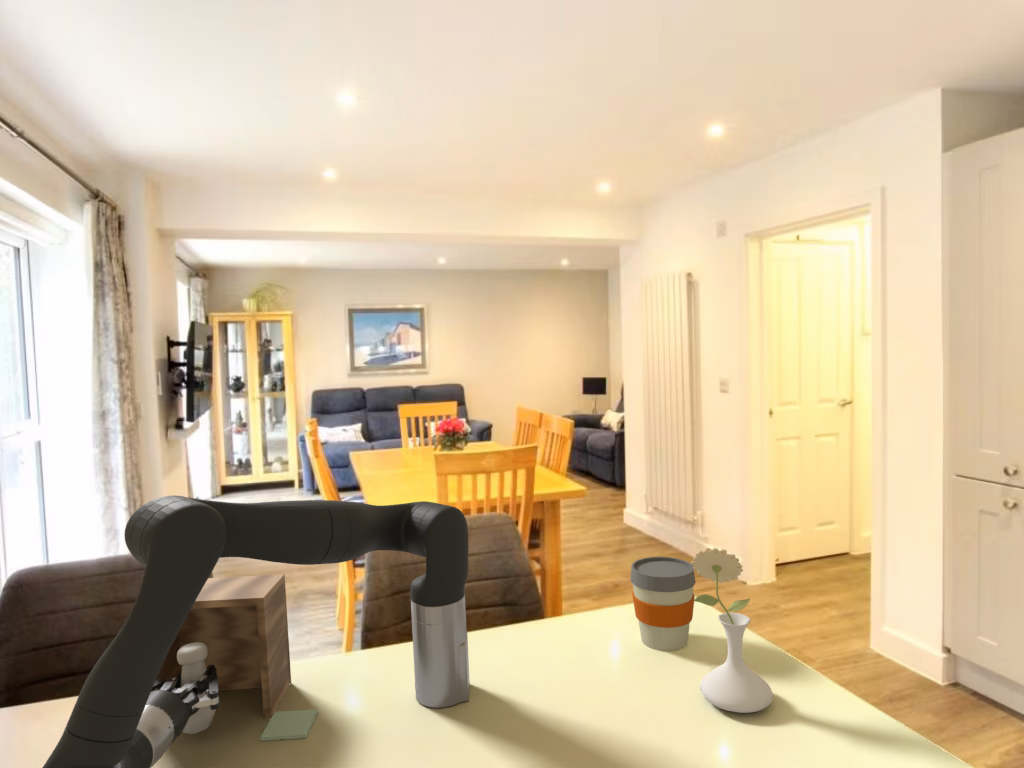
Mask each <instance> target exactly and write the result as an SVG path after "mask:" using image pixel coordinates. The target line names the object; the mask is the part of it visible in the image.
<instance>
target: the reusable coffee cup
mask: <svg viewBox="0 0 1024 768" xmlns="http://www.w3.org/2000/svg"><path fill="white" fill-rule="evenodd" d="M630 568H631V569H630V582H631V583H632V587H633V590H632V593H631V596H632V601H633V607H634V614H635V617H636V619H637V620H638V626H639V632H640V638H641V642H642V644H643V645H645V646H646V647H647V648H650V649H652V650H655V651H661V652H672V651H673V652H676V651H678V650H682V649H684V648H685V647H687V646H688V643H689V642H688V641H689V632H690V623H691V622H692V621H693V617H694V615H693V614H694V606H695V601H694V600H695V599H696V597H695V594H694V586H695V585H696V577H695V574H696V573H695V570H694V566H693V565H692V564H691V563H690V562H689V561H687V560H684V559H680V558H677V557H671V556H670V557H669V556H650V557H649V556H648V557H644V558H643V557H642V558H640V559H637V560H635V561H633V562H632V564H631V567H630Z"/></svg>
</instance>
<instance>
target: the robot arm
mask: <svg viewBox="0 0 1024 768" xmlns="http://www.w3.org/2000/svg"><path fill="white" fill-rule="evenodd" d="M124 542H125V545H126V547H127V549H128V551H129V553H130V554H131V555H132V557H133V558H134V560H136V561H137V562H138V563H140V565H142V566H144V567H145V569H144V573H143V578H142V581H141V585H140V587H139V592H138V594H137V597H136V600H135V602H134V604H133V607H132V609H131V611H130V613H129V615H128V616H127V618H126V620H125V622H124V623H123V624H122V627H121V628H120V629H119V630H118V633H117V634H116V635H115V637H114V638H113V640H112V641H111V643H109V645H108V646H107V648H106V649H105V650H104V652H103V653H102V655H100V657H99V659H97V661H96V662H95V664H94V666H93V668H92V669H91V671H90V672H89V674H88V675H87V677H86V679H85V682H84V683H83V686H82V688H81V690H80V692H79V694H78V697H77V698H76V702H75V704H74V706H73V709H72V711H71V714H70V715H69V718H68V721H67V723H66V725H65V728H64V731H63V732H62V735H61V737H60V739H59V741H58V742H57V744H56V746H55V748H54V749H53V751H52V752H51V754H50V756H49V757H48V759H47V760H46V761H45V763H44V765H43V766H42V768H152V767H154V765H156V764H157V763H158V761H159V760H160V759H161V758H162V757H163V756H164V754H166V752H167V751H168V749H170V747H171V746H172V744H173V743H174V742H175V741H176V740H177V738H178V737H179V736H180V735H181V733H183V730H184V728H185V726H186V724H187V721H188V719H189V717H190V716H192V715H193V714H195V713H196V712H198V710H199V708H201V707H205V706H207V707H209V706H210V709H211V710H215V709H216V710H217V709H219V708H220V697H219V695H220V694H219V690H218V679H217V669H216V668H215V665H209V666H208V667H207V668H206V669H207V670H206V671H205V673H204V674H203V675H201V676H199V677H198V678H197V679H196V680H190V681H189V682H188V683H187V684H185V685H184V686H183V687H182V688H180V682H181V674H182V671H180V672H179V673H178V674H177V675H176V676H174V677H171V678H170V679H169V680H168V681H165V679H159V680H157V681H155V680H156V678H157V676H158V673H159V671H160V669H161V667H162V664H163V662H164V660H165V658H166V656H167V654H168V652H169V650H170V648H171V646H172V644H173V642H174V640H175V638H176V636H177V634H178V632H179V630H180V628H181V627H182V625H183V623H184V621H185V619H186V617H187V615H188V614H189V612H190V610H191V608H192V606H193V604H194V602H195V601H196V599H197V597H198V595H199V593H200V592H201V590H202V588H203V586H204V585H205V583H206V581H207V580H208V578H210V577H211V575H212V572H213V571H214V569H215V567H216V565H217V563H218V562H219V559H220V558H221V559H222V558H245V559H252V560H258V561H265V562H271V563H278V564H279V563H281V564H287V565H299V566H302V565H303V566H311V565H313V566H314V565H327V564H328V565H331V564H332V565H333V564H341V563H345V562H349V561H352V560H355V559H358V558H360V557H361V556H364V555H366V554H369V553H372V552H376V551H377V552H378V551H394V552H403V553H404V552H405V553H408V554H412V555H415V556H420V557H423V558H425V573H423V574H422V575H419V576H417V577H416V578H414V579H413V580H412V582H411V583H410V586H409V587H410V591H409V592H410V607H411V609H410V611H411V627H412V628H411V631H412V649H413V650H412V651H413V652H412V653H413V671H414V689H415V698H416V701H417V703H419V704H420V705H422V706H426V707H429V708H435V709H436V708H438V709H440V708H449V707H451V706H455V705H457V704H460V703H462V702H468V701H469V699H470V665H469V664H470V663H469V641H468V638H469V637H468V631H467V617H466V595H465V594H466V593H465V592H466V591H465V590H466V589H465V588H466V587H465V586H466V583H467V579H468V576H469V528H468V522H467V519H466V516H465V514H464V513H463V512H462V510H460V509H459V508H457V507H456V506H453V505H448V504H442V503H437V502H432V501H426V500H425V501H424V500H423V501H413V502H408V503H407V502H406V503H397V504H396V503H395V504H388V505H387V504H386V505H375V504H369V503H365V502H364V503H363V502H356V501H345V500H330V499H329V500H328V499H327V500H326V499H309V500H307V499H305V500H304V499H303V500H299V499H298V500H277V501H275V500H274V501H263V502H262V501H261V502H247V503H246V502H244V503H243V502H225V501H220V500H219V501H217V500H207V499H201V498H200V499H199V498H195V497H194V498H193V497H187V496H183V495H165V496H160V497H157V498H155V499H152V500H150V501H148V502H145V503H144V504H142V505H141V506H140V507H139V508H137V509H136V510H135V511H134V512H133V514H132V515H130V517H129V519H128V521H127V522H126V525H125V529H124ZM154 689H156V691H153V690H154ZM203 695H204V696H203ZM202 696H203V697H202ZM201 697H202V698H201Z"/></svg>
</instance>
